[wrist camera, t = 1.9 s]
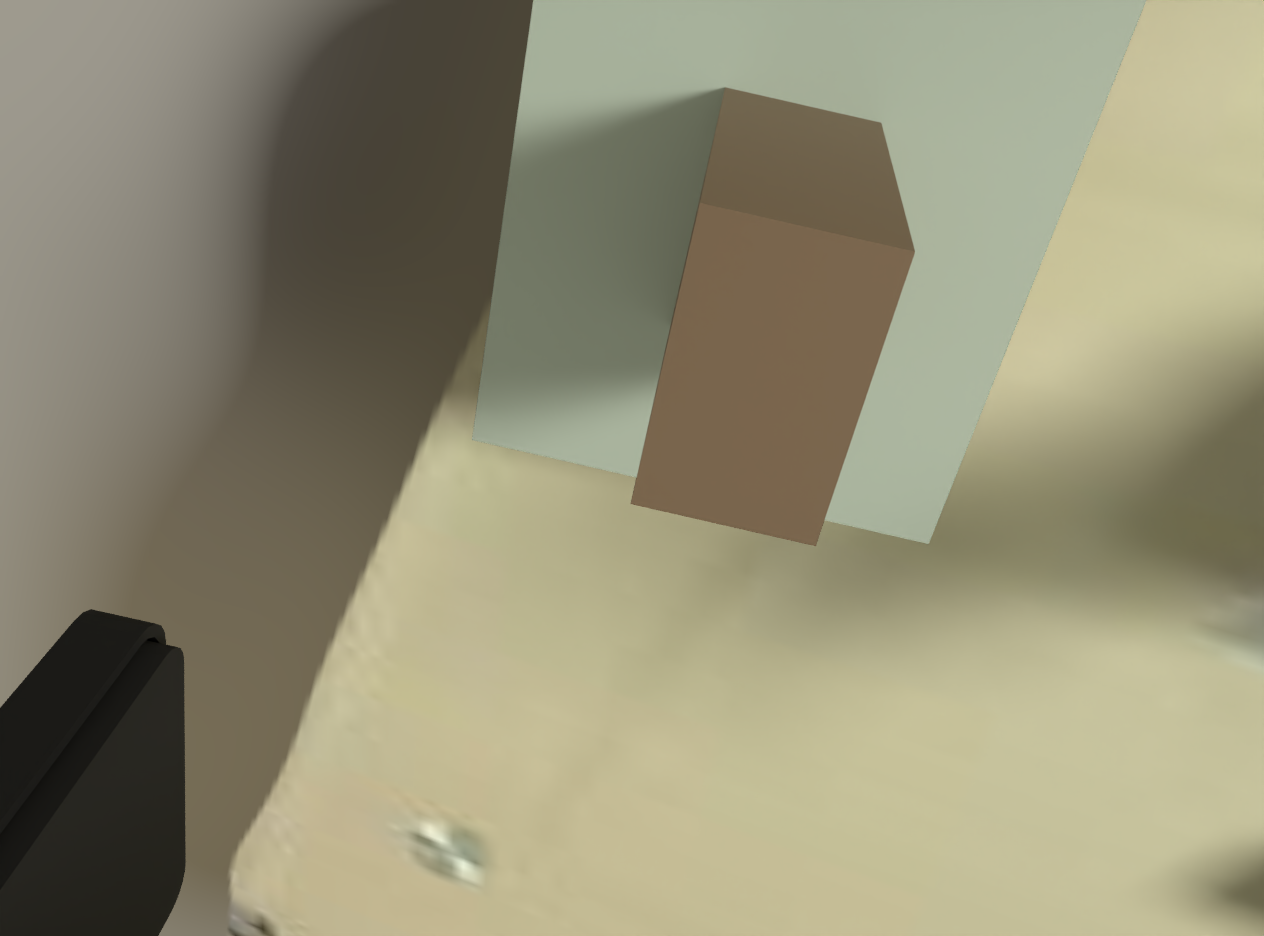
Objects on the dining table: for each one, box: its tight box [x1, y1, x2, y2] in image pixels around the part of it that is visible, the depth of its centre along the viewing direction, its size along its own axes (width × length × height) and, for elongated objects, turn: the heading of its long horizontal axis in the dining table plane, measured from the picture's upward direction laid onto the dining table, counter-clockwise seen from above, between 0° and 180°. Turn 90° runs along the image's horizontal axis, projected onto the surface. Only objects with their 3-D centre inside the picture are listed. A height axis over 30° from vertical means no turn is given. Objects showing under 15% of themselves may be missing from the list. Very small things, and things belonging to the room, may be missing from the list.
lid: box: [472, 0, 1146, 546], centre depth 20 cm, size 13×11×8 cm
